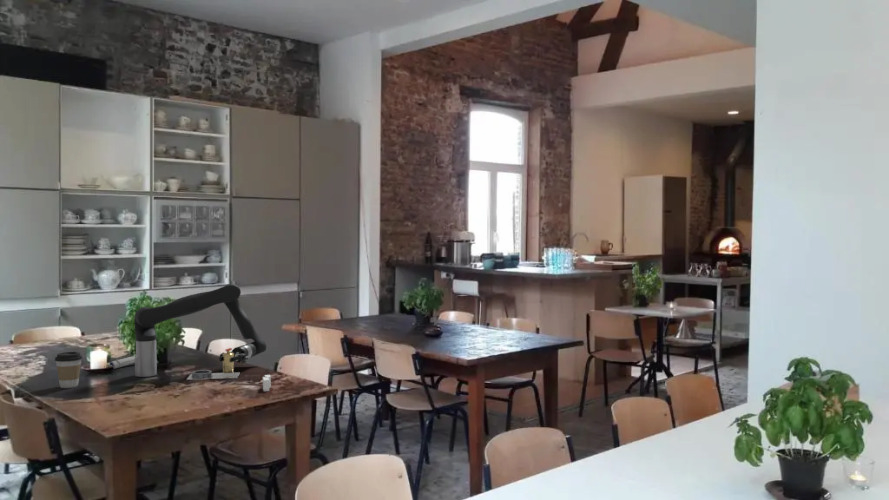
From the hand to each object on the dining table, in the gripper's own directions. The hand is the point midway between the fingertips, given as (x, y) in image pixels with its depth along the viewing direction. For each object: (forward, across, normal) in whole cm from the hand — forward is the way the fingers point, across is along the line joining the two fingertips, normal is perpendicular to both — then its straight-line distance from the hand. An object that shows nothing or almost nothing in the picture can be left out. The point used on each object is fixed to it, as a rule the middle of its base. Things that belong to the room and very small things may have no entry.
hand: (226, 359), depth 345 cm
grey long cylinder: (-23, -63, +11) cm, 68 cm away
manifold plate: (0, -6, +10) cm, 12 cm away
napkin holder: (+12, +27, +10) cm, 31 cm away
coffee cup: (+27, -63, +10) cm, 69 cm away
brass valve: (-3, 0, +7) cm, 7 cm away
